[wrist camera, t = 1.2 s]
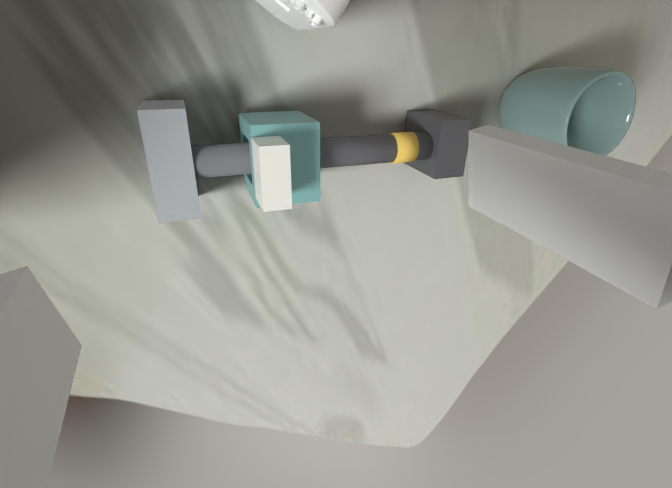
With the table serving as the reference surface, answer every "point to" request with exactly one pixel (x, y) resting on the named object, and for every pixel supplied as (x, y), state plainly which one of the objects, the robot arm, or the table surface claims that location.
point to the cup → (571, 106)
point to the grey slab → (169, 159)
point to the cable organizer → (306, 12)
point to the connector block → (441, 142)
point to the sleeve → (281, 158)
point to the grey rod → (332, 153)
